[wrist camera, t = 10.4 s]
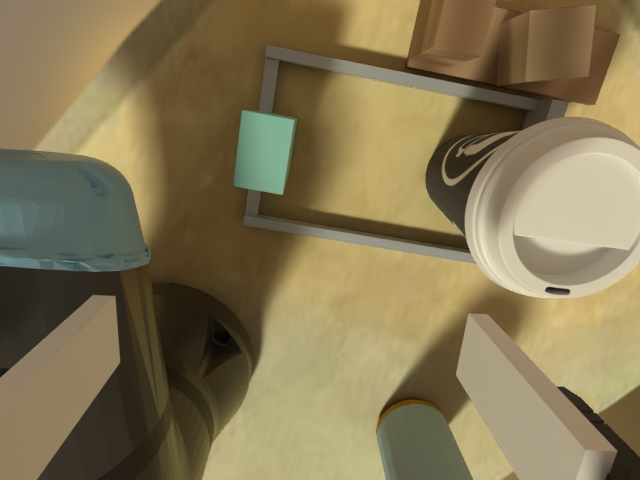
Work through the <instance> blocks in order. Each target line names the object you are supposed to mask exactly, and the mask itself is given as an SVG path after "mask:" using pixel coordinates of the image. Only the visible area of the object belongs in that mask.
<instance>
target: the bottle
mask: <svg viewBox="0 0 640 480" xmlns="http://www.w3.org/2000/svg"><path fill="white" fill-rule="evenodd" d="M376 434H377V440H378V445H379V449H380V454H381V459H382V463H383V468H384V472H385V477H386V480H473V478H472V476H471V474H470V472H469V469H468V467H467V465H466V463H465V461H464V458H463V456H462V454H461V452H460V450H459V447H458V445H457V443H456V441H455V439H454V436H453V434H452V432H451V430H450V427H449V425H448V423H447V421H446V419H445V417H444V415H443V414H442V412H441V411H440V410H439V409H438V408H437V407H436V406H434V405H433V404H431V403H429V402H426V401H422V400H405V401H401V402H398V403H396V404H394V405H392V406H391V407H390V408H388V409H387V410H386V411H385V412H384V413H383V414H382V416H381V417H380V419H379V421H378V424H377V429H376Z"/></svg>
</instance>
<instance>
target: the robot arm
mask: <svg viewBox="0 0 640 480" xmlns="http://www.w3.org/2000/svg"><path fill="white" fill-rule="evenodd" d="M150 259H151V251H150V248H149V246H148V245H147V244H145V242H144V238H143V234H142V229H141V225H140V221H139V217H138V212H137V208H136V204H135V199H134V195H133V192H132V189H131V186H130V185H129V183H128V181H127V180H126V178H125V177H124V176H123V175H122V174H121V173H120V172H119V171H118V170H117V169H116V168H114V167H113V166H111V165H109V164H108V163H106V162H104V161H101V160H99V159H96V158H92V157H88V156H82V155H73V154H65V153H56V152H44V151H31V150H15V149H0V480H202V477H203V474H204V470H205V467H206V463H207V460H208V455H209V452H210V449H211V445H212V443H213V441H214V440H215V439H216V438H217V436H218V435H219V434H220V432H221V431H222V430H223V429H224V427H225V426H226V425H227V423H228V422H229V421H230V420H231V418H232V417H233V416H234V415H235V413H236V412H237V411H238V409H239V408H240V406H241V404H242V402H243V400H244V398H245V396H246V393H247V390H248V387H249V382H250V378H251V373H252V367H253V355H252V348H251V344H250V341H249V338H248V336H247V333H246V331H245V329H244V328H243V326H242V324H241V323H240V322H239V320H238V319H237V318H236V316H235V315H234V314H233V313H232V312H231V311H230V310H229V309H228V308H227V307H226V306H224V305H223V304H222V303H220V302H219V301H218V300H216V299H215V298H213V297H211V296H209V295H207V294H205V293H203V292H201V291H198V290H196V289H193V288H190V287H186V286H181V285H174V284H151V279H150V272H149V266H148V263H149V262H150ZM456 376H457V378H458V379H459V381H460V383H461V384H462V386H463V388H464V389H465V391H466V393H467V394H468V396H469V397H470V399H471V401H472V402H473V404H474V406H475V407H476V409H477V411H478V412H479V414H480V416H481V417H482V419H483V421H484V422H485V424H486V426H487V427H488V429H489V431H490V432H491V434H492V435H493V437H494V439H495V440H496V442H497V444H498V445H499V447H500V449H501V450H502V452H503V454H504V455H505V457H506V459H507V460H508V462H509V464H510V465H511V467H512V468H513V470H514V472H515V473H516V475H517V477H518V478H519V480H640V457H639V456H638V455H637V454H636V453H635V452H634V451H633V450H632V449H631V448H630V447H629V446H628V445H627V444H626V443H625V442H624V441H623V440H622V439H621V438H620V437H619V436H618V435H617V434H616V433H615V432H614V431H613V430H612V429H611V428H610V427H609V426H608V425H607V424H604V421H603V420H602V419H601V418H600V417H599V416H598V415H597V414H596V413H594V412H593V410H592V409H591V408H590V407H589V406H588V405H587V404H586V403H585V402H584V401H583V400H582V399H581V398H580V397H578V396H577V395H575V394H574V393H572V392H571V391H569V390H568V389H566V388H565V387H556V386H555V385H554V384H553V383H552V382H551V380H550V379H549V378H548V377H547V376H546V375H545V374H544V373H543V372H542V371H541V370H540V369H539V368H538V367H537V366H536V365H535V364H534V363H533V361H532V360H531V359H530V358H529V357H528V356H527V355H526V354H525V353H524V352H523V351H522V350H521V349H520V348H519V347H518V346H517V345H516V344H515V342H514V341H513V340H512V339H511V338H510V337H509V336H508V335H507V334H506V333H505V332H504V331H503V330H502V329H501V328H500V327H499V326H498V325H497V323H496V322H495V321H494V320H493V319H492V318H491V317H490V316H489V315H488V314H471V313H469V314H468V319H467V323H466V328H465V333H464V338H463V343H462V347H461V352H460V357H459V362H458V366H457V371H456Z"/></svg>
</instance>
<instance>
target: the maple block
mask: <svg viewBox="0 0 640 480" xmlns="http://www.w3.org/2000/svg"><path fill="white" fill-rule="evenodd" d="M595 14H596V5H587V6H576V7H564V8H552V9H540V10H530V11H528V12H525V13H523V14H521V15H519V16H517V17H514V18H512V19H510V20H508V21H506V22H504V23H501V24H500V30H499V51H498V73H497V86H500V85H512V84H524V83H536V82H547V81H557V80H564V79H572V78H580V77H587V76H589V68H590V59H591V50H592V41H593V32H594V23H595Z"/></svg>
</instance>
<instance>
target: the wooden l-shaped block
mask: <svg viewBox="0 0 640 480" xmlns="http://www.w3.org/2000/svg"><path fill="white" fill-rule="evenodd" d="M496 1H497V0H420V5H419V9H418V14H417V18H416V22H415V27H414V31H413V36H412V40H411V44H410V49H409V53H408V58H407V62H406V67H405V68H410V69H414V70H419V71H424V72H429V73H434V74H439V75H444V76H449V77H454V78H458V79H463V80H468V81H473V82H478V83H483V84H488V85H493V86H497V73H498V51H499V30H500V24H501V23H504V22H506V21H508V20H510V19H512V18H514V17H517V16H519V15H521V14H523V13H521V12H516V11H512V10H507V9H503V8H498V7H495V5H496ZM619 37H620V34H615V33H611V32H606V31H602V30H597V29H594V32H593V41H592V50H591V59H590V68H589V76H587V77H580V78H572V79H564V80H557V81H547V82H536V83H524V84H512V85H500V86H498V87H502V88H507V89H512V90H517V91H522V92H527V93H532V94H537V95H542V96H546V97H551V98H556V99H561V100H566V101H571V102H576V103H581V104H586V105H595V103H596V101H597V98H598V95H599V92H600V89H601V87H602V84H603V81H604V78H605V76H606V73H607V70H608V67H609V65H610V62H611V59H612V56H613V54H614V51H615V48H616V45H617V43H618V40H619Z"/></svg>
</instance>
